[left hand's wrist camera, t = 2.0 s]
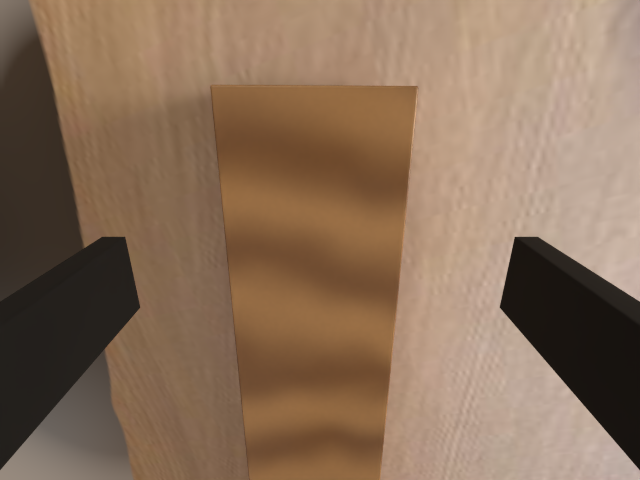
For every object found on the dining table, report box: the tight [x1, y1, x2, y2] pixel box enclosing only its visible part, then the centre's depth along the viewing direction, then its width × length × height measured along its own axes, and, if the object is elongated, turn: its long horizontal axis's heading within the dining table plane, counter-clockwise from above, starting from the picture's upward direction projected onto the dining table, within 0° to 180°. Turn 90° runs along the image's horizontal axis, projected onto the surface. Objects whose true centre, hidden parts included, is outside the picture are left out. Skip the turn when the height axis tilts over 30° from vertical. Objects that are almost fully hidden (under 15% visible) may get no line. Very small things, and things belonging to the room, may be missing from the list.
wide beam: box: [211, 85, 418, 480], centre depth 30 cm, size 57×9×7 cm, turn 0°
